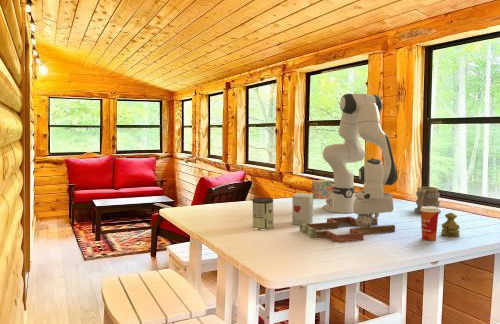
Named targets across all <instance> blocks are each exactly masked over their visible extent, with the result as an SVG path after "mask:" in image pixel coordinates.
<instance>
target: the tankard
mask: <svg viewBox="0 0 500 324" xmlns="http://www.w3.org/2000/svg"><path fill="white" fill-rule="evenodd" d="M439 189H440V188H438V187H434V186H419V187H417V191H415V193H416V194H415V195H416V197H417V199H416V200H415V203H416V205H417V207H415V208H414V212H415V213H417V214H421V210H420V209H421V207H422V206H424V207H425V206H433V207H437V208H438V210H439V212H438V215H439V214H441V209H440V208H439V206H440V201H439V198H440V197H441V193H440V192H439Z"/></svg>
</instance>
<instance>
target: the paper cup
mask: <svg viewBox="0 0 500 324" xmlns="http://www.w3.org/2000/svg"><path fill="white" fill-rule="evenodd" d="M438 209H439V207H438V208H437V207H433V206H425V207H424V206H422V207H421V209H420V210H421V213H420V223H421V239H422V240H424V241H429V242H435V241H436V240H437V232H438V223H439V221H438V220H439V214H438V212H439V210H440V209H439V210H438Z"/></svg>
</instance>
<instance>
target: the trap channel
mask: <svg viewBox="0 0 500 324" xmlns="http://www.w3.org/2000/svg"><path fill="white" fill-rule="evenodd" d="M356 220H357V218H355V217H353V216H339V217H327V218H326V222H317V223H311V224H304V223H300V225H299V232H301V233H302V232H303V233H302V234H304V233H305V234H304V235H306V234H307V235H308V237H309V236H310V237H309V238H311V237H312V238H313V240H316V239H315V238H321V239H328V240H329V239H330V241H331V240H332V242H333V241H334V242H333V243H335V242H339V243H347V242H346V241H349V242H357V241H359V240H360V241H364V235H372V234H373V235H374V234H383V233H384V234H385V233H392V232H393V233H395V231H396V225H395V224H387V225H379V224H378V218H377V222H374V223H372V224H371V226H370V227H362V228H360V227H359V226H358V225H357V224H356V223H354V222H356ZM350 227H353V228H350ZM338 228H349V233H344V234H336V233H334V232H332V231H330V230H333V229H338ZM322 229H324V230H322ZM307 235H306V236H307ZM312 238H311V239H312Z"/></svg>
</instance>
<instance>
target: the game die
mask: <svg viewBox="0 0 500 324" xmlns="http://www.w3.org/2000/svg"><path fill="white" fill-rule="evenodd" d="M356 219H357V220H356V222H354V223H356V224H357V225H358V226H359V227H358V226H357V227H358V228H362V227H372V225H371V224H372V222H373V220H374V219H372V218H371V217H370V216H369V215H368V214H360V215H358V214H357V217H356Z"/></svg>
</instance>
